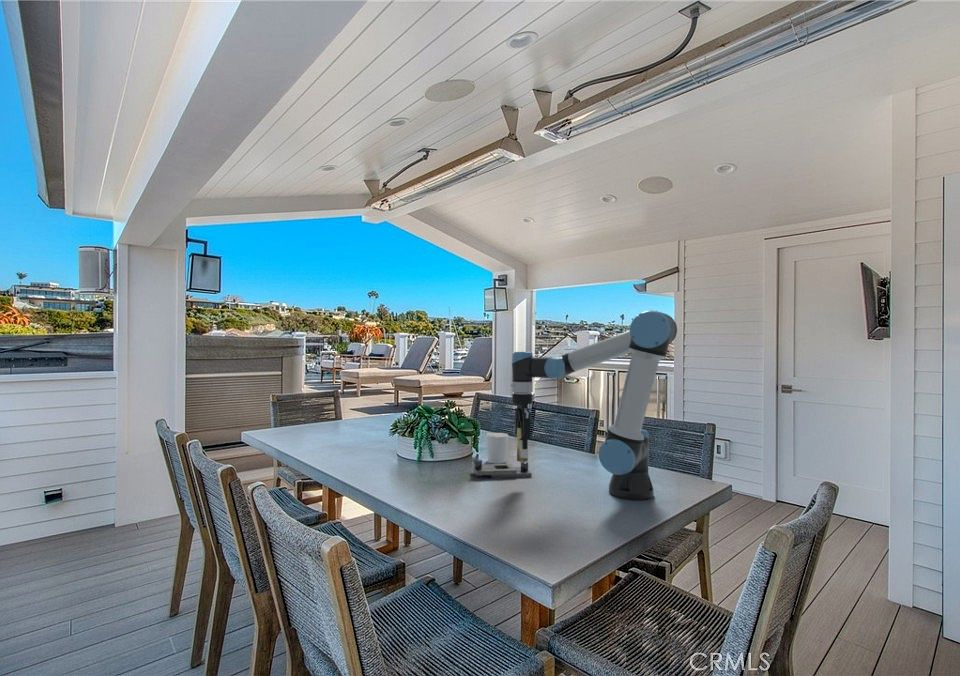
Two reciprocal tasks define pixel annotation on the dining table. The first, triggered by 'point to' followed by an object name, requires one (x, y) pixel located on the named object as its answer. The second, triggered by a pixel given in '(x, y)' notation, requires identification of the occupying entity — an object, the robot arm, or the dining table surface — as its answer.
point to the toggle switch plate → (501, 470)
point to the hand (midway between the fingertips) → (522, 456)
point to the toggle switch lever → (519, 446)
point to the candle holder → (497, 447)
